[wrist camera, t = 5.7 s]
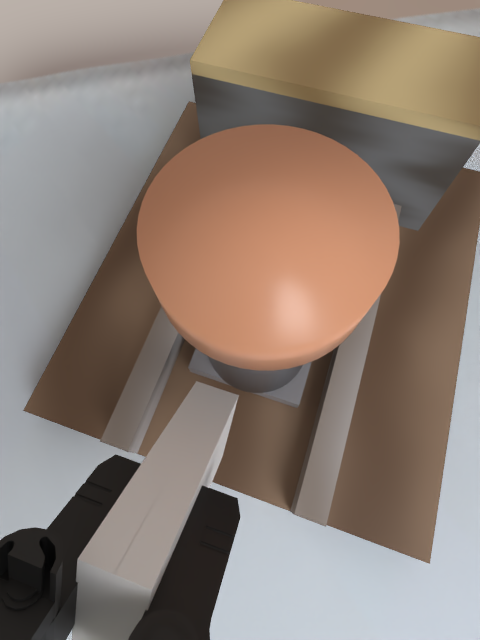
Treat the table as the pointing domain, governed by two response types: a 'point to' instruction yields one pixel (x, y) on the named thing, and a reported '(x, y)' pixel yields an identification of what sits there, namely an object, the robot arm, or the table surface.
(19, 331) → the table surface
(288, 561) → the table surface
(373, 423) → the brown sliding knob board
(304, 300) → the knob
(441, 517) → the table surface
